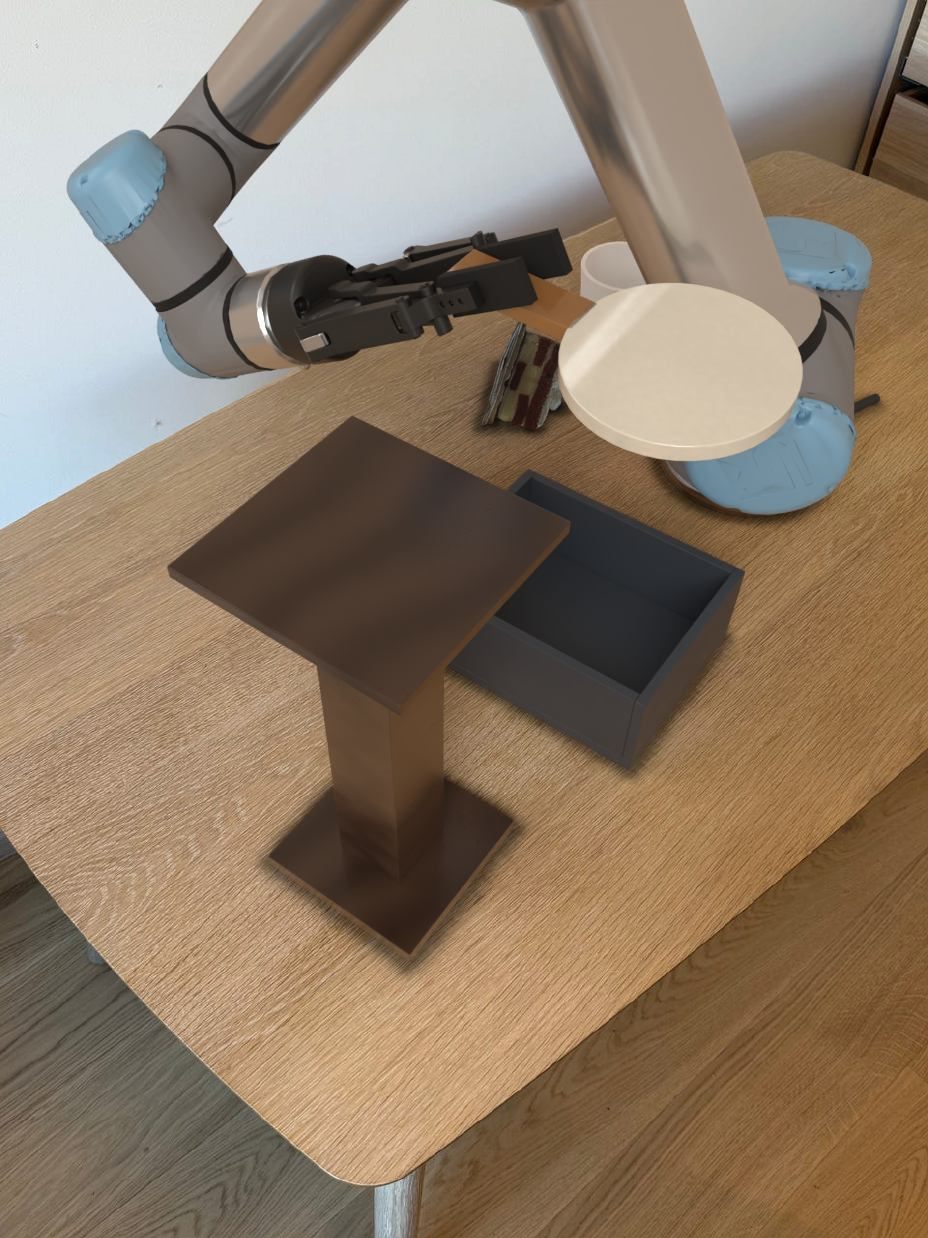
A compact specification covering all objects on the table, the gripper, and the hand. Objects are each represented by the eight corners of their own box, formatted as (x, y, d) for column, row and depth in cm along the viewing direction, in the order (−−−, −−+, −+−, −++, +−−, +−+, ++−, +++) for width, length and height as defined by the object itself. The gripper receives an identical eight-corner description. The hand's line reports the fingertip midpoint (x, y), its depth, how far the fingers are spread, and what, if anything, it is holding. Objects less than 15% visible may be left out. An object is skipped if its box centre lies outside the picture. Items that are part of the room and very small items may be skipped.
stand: (249, 867, 75) (166, 566, 52) (376, 730, 83) (352, 414, 60) (413, 984, 70) (400, 706, 47) (532, 826, 77) (571, 521, 55)
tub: (415, 649, 88) (413, 581, 82) (522, 536, 96) (528, 467, 90) (629, 771, 81) (644, 707, 74) (724, 638, 89) (745, 571, 83)
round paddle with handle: (391, 334, 67) (389, 319, 66) (523, 221, 74) (524, 205, 73) (722, 499, 59) (726, 484, 58) (840, 355, 65) (845, 339, 64)
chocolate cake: (550, 452, 104) (597, 330, 103) (481, 425, 103) (527, 302, 102) (538, 453, 113) (580, 342, 112) (474, 428, 113) (516, 316, 111)
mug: (654, 386, 110) (670, 296, 102) (566, 375, 111) (576, 286, 103) (660, 324, 117) (676, 235, 109) (578, 314, 118) (587, 226, 110)
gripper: (392, 309, 88) (632, 264, 72) (253, 414, 79) (491, 389, 63) (351, 219, 85) (594, 151, 68) (201, 318, 76) (438, 266, 60)
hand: (544, 265), depth 66 cm, fingers closed on round paddle with handle, 3 cm apart
